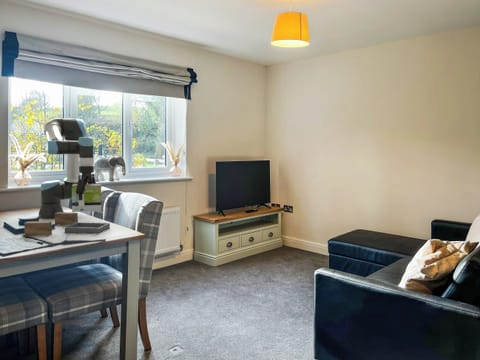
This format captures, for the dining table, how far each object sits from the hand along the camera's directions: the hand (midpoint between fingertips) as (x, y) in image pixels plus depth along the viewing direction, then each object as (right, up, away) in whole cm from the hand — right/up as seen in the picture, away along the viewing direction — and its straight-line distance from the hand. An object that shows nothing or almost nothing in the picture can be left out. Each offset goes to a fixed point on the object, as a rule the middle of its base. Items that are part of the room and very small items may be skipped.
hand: (87, 204), depth 214 cm
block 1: (-21, -15, -11) cm, 29 cm away
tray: (0, -15, +1) cm, 15 cm away
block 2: (-19, -13, +17) cm, 29 cm away
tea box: (0, -4, 0) cm, 4 cm away
